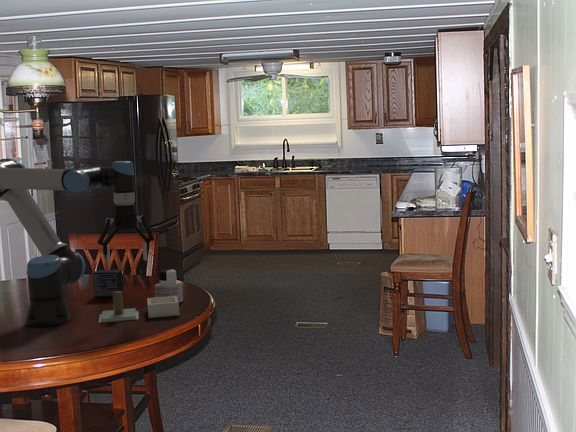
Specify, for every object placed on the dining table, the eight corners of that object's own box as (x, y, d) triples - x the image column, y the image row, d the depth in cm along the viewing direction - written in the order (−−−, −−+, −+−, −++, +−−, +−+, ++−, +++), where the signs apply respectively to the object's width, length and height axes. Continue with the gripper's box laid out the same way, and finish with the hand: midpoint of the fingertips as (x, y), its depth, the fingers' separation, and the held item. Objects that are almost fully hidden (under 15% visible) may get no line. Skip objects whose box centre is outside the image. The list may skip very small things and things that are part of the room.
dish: (148, 318, 278) (147, 305, 278) (148, 311, 289) (147, 298, 288) (179, 315, 280) (178, 302, 280) (177, 308, 291) (176, 295, 290)
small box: (124, 293, 320) (122, 268, 319) (119, 297, 314) (117, 272, 313) (99, 294, 322) (97, 269, 320) (94, 298, 315) (92, 272, 314)
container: (155, 304, 300) (153, 271, 298) (167, 299, 306) (165, 267, 305) (171, 305, 296) (169, 272, 294) (183, 301, 303) (181, 268, 301)
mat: (98, 323, 274) (98, 322, 274) (99, 315, 286) (99, 314, 286) (138, 319, 277) (138, 319, 277) (138, 311, 289) (138, 311, 289)
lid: (101, 322, 275) (99, 297, 273) (102, 314, 286) (100, 289, 285) (135, 319, 277) (134, 294, 276) (135, 311, 289) (134, 287, 287)
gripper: (91, 207, 272) (94, 266, 275) (160, 202, 282) (163, 260, 285) (87, 205, 279) (90, 262, 282) (155, 200, 289) (157, 256, 292)
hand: (127, 261), depth 283 cm, fingers open, 13 cm apart
